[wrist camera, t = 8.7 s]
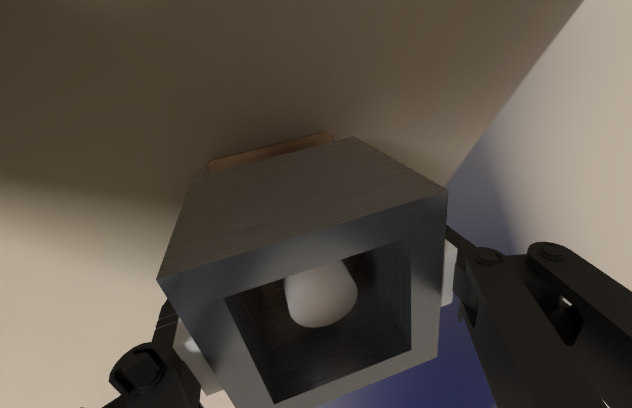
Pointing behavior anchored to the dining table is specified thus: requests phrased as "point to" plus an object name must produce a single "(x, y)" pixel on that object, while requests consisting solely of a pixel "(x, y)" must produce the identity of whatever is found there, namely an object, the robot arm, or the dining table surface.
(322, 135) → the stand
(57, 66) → the dining table surface
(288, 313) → the collar
